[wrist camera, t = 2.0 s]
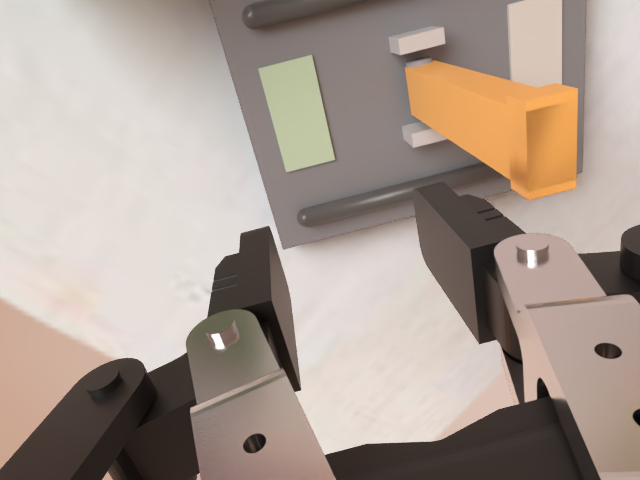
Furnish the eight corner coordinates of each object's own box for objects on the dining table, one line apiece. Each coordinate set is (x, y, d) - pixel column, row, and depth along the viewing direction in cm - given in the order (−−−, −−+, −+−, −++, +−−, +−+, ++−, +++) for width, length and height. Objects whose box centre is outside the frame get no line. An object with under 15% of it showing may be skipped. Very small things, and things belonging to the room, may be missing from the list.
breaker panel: (560, -115, 26) (615, -138, 22) (560, 161, 33) (602, 181, 29) (205, -25, 26) (196, -32, 22) (281, 233, 33) (284, 264, 29)
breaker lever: (428, 53, 26) (578, 88, 14) (435, 110, 28) (575, 188, 15) (400, 60, 26) (525, 101, 14) (408, 117, 28) (528, 200, 15)
